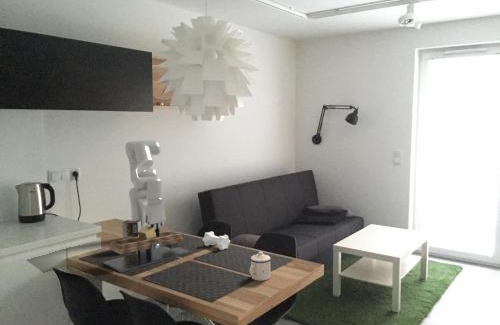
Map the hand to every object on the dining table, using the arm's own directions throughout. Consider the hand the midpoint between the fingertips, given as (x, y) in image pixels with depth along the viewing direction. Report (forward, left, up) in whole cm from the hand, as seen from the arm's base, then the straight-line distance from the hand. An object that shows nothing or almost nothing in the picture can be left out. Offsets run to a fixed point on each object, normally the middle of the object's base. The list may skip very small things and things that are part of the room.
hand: (156, 236), depth 213 cm
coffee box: (-21, -3, -11) cm, 23 cm away
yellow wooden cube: (0, -4, -1) cm, 4 cm away
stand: (-1, -5, -11) cm, 12 cm away
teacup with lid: (+60, +15, -11) cm, 63 cm away
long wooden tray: (-1, -5, -7) cm, 8 cm away
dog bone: (+11, +32, -11) cm, 35 cm away
